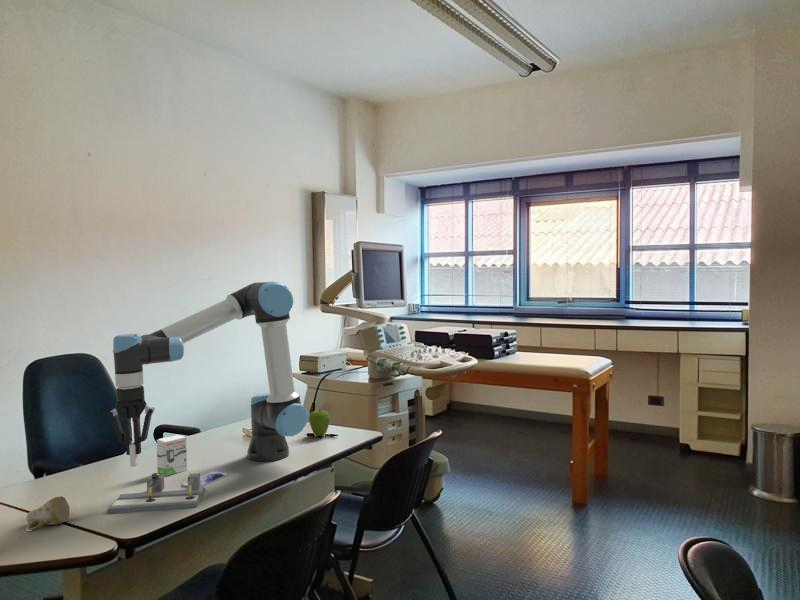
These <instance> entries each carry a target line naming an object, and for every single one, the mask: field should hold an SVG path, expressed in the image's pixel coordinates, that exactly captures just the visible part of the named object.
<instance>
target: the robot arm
mask: <svg viewBox="0 0 800 600" xmlns="http://www.w3.org/2000/svg"><path fill="white" fill-rule="evenodd" d="M293 305H294V296H293V294H292V291H291V290H290V288H289V287H288V286H286V285H285V284H283V283H281V282H278V281H277V282H276V281H265V282H253V283H251V284H248V285H246V286H244V287H242V288H240V289H237V290H236V291H234V292H231V294H228V295H226V298H225V299H223V300H222V301H220V302H217V303H215V304H213V305H211V306H209V307H206V308H204V309H202V310H200V311H197V312H195V313H193V314H191V315H189V316H187V317H185V318H182V319H180V320H178V321H176V322H173V323H171V324H169V325H167V326H165V327H163V328H160V329H158V330H155V331H154V332H151V333H149V334H148V333H147V334H143V335H141V334H140V333H124V334H119V335H116V336H115V337H113V339H112V341H113V342H112V343H113V344H112V345H113V346H112V347H113V348H112V352H113V363H114V378H115V379H114V380H115V381H114V382H115V387H116V389H115V395H116V403H115V406H114V408H113V409H112V410H110V411H108V412H107V416H108V417H109V419H110V420H111V422H112V423H111V424H112V426H113V429H114V432H115V435H116V438H117V441H118V443H120V444H124V445H125V452H126V456H129V462H130V463H129V465H130V467H131V468H133V467H137V466H138V465H139V463H140V462H139V455H140V454H141V453H142V442H145V441H146V440H147V439H148V436H149V430H150V426H151V421H152V416H153V414H154V412H155V407H152V406H151V407H150V406H148V404H147V402H146V400H145V387H144V385H143V384H144V367H143V365H151V364H152V365H153V364H161V363H169V362H170V363H172V362H175V361H180V360H182V358H183V357H184V353H185V346H184V345H185V344H186V343H188V342H190V341H192V340H194V339H196V338H198V337H199V336H202V335H204V334H206V333H208V332H210V331H213V330H215V329H217V328H218V327H222V326H223V325H225V324H227V323H229V322H231V321H233V320H235V319H236V320H238V321H239V320H242V319H245V318H246V317H250V316H254V319H255V324H257V325H258V326H259V327H260V329H261V337H262V345H263V350H264V352H263V353H264V358H265V359H264V360H265V367H266V368H265V369H266V375H267V381H268V382H267V384H268V388H269V389H268V390H269V392H268V393H264V394H263V393H262V394H261V393H260V394H256V395H254V396H252V397H251V399H250V417H251V418H250V419H251V420H250V421H251V422H250V423H251V437H250V441H249V445H248V448H247V456H246V457H247V460H250V461H255V462H271V461H273V462H274V461H278V460H283V459H285V458H287V457H289V456H290V448H289V447H290V446H289V444H288V442H287V439H286V437H295V436H297V435H299V434H300V433H301V432H303V430H304V428H305V427H306V426H307V423H308V421H309V412H308V410H307V408H306V407H305V406H304V405H302V403H301V396H300V393H299V392H298V391H296V390H295V384H294V383H295V382H294V376H293V369H292V368H293V367H292V360H291V353H290V352H291V351H290V344H289V338H288V337H289V336H288V330H287V323H288V322H289V320H290V318H291V316H290V311H291V309H292V308H293V307H294V306H293ZM143 412H144V414H145V415H144V420H143V426H142V430H141V415H142V413H143ZM119 415H120V416H121V417H122V421H123V427H122V424H121V420H120V417H119ZM132 424H133V425H132ZM132 426H133V427H132ZM123 428H124V429H123ZM132 428H133V434H132ZM132 436H133V437H132ZM133 440H134V442H133Z"/></svg>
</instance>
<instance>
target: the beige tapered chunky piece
mask: <svg viewBox="0 0 800 600" xmlns="http://www.w3.org/2000/svg"><path fill="white" fill-rule="evenodd" d="M70 510H71V509H70V505H69V503H68V501H67V500H66V498H65V496H62V495H61V496H56V497H53V498H51V499H49V500H47V501H46V502H45V503H43V504H42V505H41V506H39V507H38V508H35V509H33V510H30V511H29V512H28V513H27V514H26V516H25V520H26V523H27V524H28V525H27V526H26V527H25V530H26V529H27V530H34V529H36V530H38V529H39V528H41V527H43V526H46V525H50V526H51V525H52V526H55V525H60V524H63V523H65V522H67V521H68V520H69V517H70ZM36 524H37V525H36ZM32 525H34V526H32ZM34 531H35V530H34Z"/></svg>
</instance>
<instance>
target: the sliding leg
mask: <svg viewBox="0 0 800 600" xmlns="http://www.w3.org/2000/svg"><path fill="white" fill-rule="evenodd" d="M164 489H165V476H164V475H159V473H158V472H154V473H151V475H149V476H148V478H147V479H146V491H147V493H149V499H152V493H154V492H162V491H163V490H164Z"/></svg>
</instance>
